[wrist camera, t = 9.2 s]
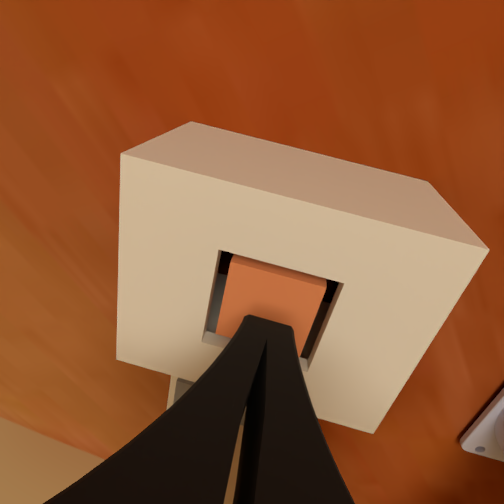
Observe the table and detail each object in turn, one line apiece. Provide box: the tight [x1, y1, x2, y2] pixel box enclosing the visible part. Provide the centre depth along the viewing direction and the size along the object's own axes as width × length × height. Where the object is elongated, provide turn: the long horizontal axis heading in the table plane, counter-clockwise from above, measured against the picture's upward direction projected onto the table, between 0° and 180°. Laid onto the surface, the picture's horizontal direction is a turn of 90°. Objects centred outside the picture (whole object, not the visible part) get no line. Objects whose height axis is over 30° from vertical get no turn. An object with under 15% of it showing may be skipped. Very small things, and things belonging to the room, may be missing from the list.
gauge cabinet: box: [116, 121, 489, 434], centre depth 14 cm, size 10×8×6 cm
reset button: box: [215, 254, 327, 358], centre depth 12 cm, size 3×3×2 cm
